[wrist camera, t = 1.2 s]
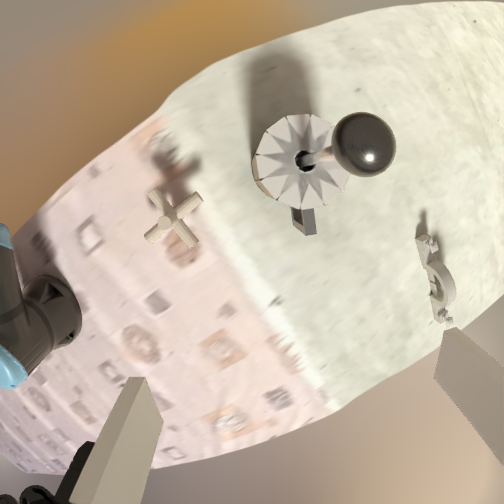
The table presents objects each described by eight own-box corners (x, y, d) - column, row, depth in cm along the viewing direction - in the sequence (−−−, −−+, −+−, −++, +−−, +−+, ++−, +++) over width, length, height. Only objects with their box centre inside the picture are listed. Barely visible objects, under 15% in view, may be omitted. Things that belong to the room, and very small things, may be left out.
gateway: (413, 238, 49) (437, 248, 41) (422, 233, 49) (446, 241, 41) (433, 317, 54) (453, 333, 46) (440, 312, 53) (461, 327, 46)
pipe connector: (184, 170, 44) (170, 167, 35) (222, 219, 46) (218, 229, 37) (139, 209, 45) (115, 217, 36) (175, 256, 48) (160, 275, 38)
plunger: (272, 198, 36) (319, 223, 15) (262, 135, 34) (294, 73, 13) (333, 190, 36) (440, 206, 15) (324, 129, 34) (420, 77, 13)
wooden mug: (260, 227, 47) (269, 246, 33) (246, 138, 44) (249, 119, 30) (326, 217, 47) (359, 231, 33) (314, 130, 44) (342, 111, 30)
